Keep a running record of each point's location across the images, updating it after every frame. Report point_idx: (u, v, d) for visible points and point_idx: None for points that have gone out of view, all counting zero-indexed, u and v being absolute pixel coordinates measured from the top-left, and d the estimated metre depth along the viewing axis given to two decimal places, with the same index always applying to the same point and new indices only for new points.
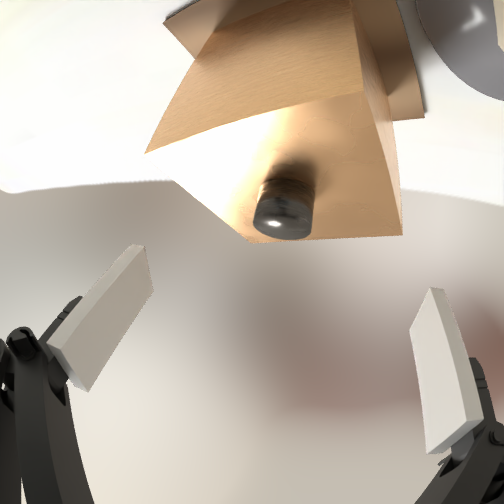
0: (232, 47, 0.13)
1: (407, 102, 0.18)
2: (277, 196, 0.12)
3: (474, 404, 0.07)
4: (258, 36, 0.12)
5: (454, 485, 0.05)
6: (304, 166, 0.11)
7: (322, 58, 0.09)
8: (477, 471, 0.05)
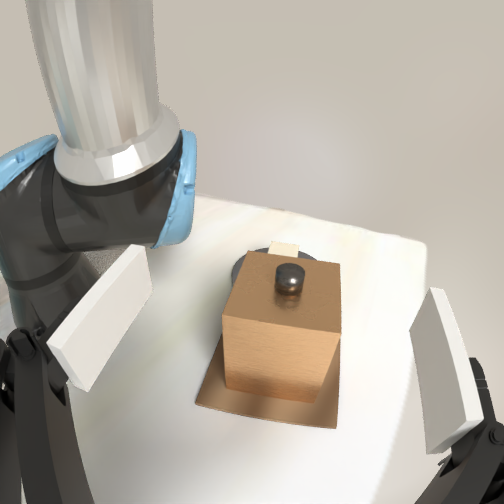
0: None
1: None
2: None
3: (474, 404, 0.07)
4: None
5: (454, 485, 0.05)
6: (272, 273, 0.27)
7: None
8: (477, 471, 0.05)
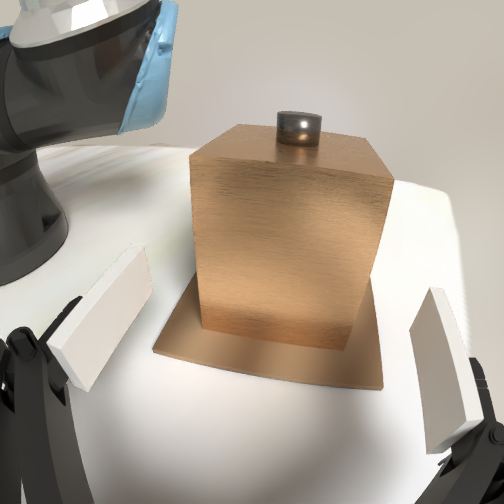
0: None
1: None
2: None
3: (474, 404, 0.07)
4: None
5: (454, 485, 0.05)
6: (272, 134, 0.17)
7: None
8: (477, 471, 0.05)
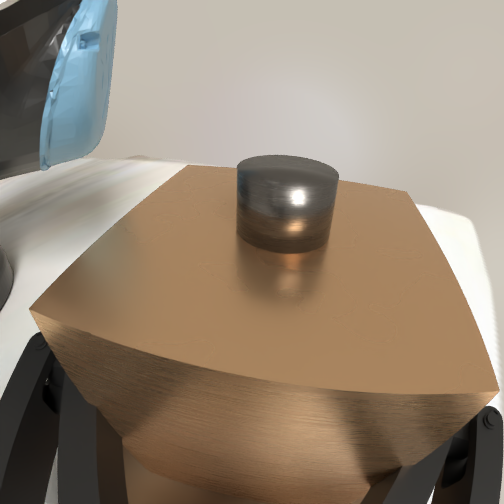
0: None
1: None
2: None
3: None
4: None
5: None
6: (235, 198, 0.09)
7: None
8: None
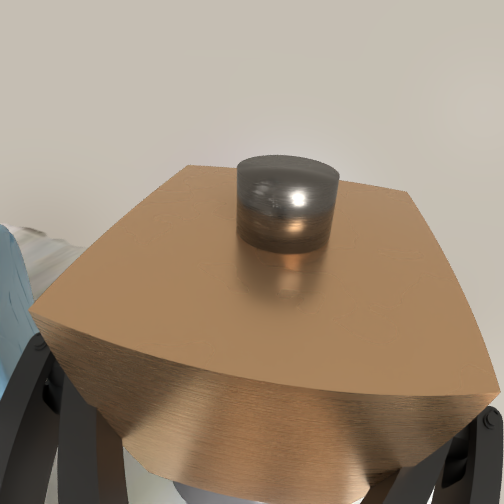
0: None
1: None
2: None
3: None
4: None
5: None
6: (236, 198, 0.09)
7: None
8: None
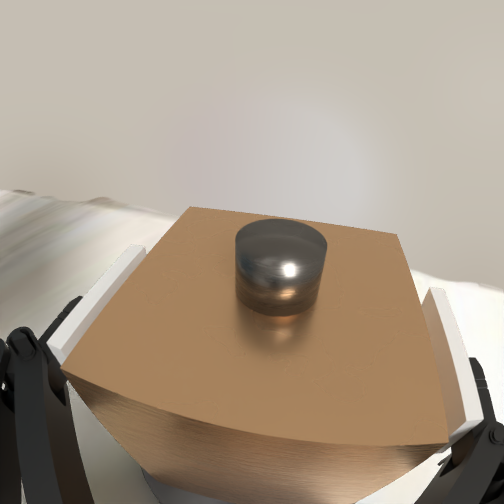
0: None
1: None
2: None
3: (474, 404, 0.07)
4: None
5: (454, 485, 0.05)
6: (235, 252, 0.10)
7: None
8: (477, 471, 0.05)
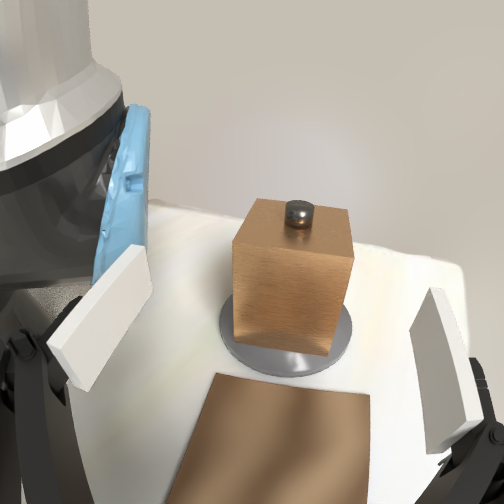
0: None
1: (351, 403, 0.23)
2: None
3: (474, 404, 0.07)
4: None
5: (454, 485, 0.05)
6: (281, 213, 0.27)
7: None
8: (477, 471, 0.05)
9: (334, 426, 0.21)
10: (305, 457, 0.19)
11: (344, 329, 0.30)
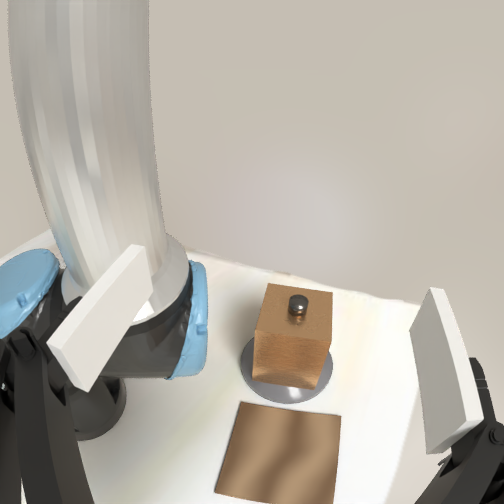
0: None
1: (328, 421, 0.36)
2: None
3: (474, 404, 0.07)
4: None
5: (454, 485, 0.05)
6: (286, 300, 0.39)
7: None
8: (477, 471, 0.05)
9: (317, 436, 0.34)
10: (298, 455, 0.31)
11: (327, 369, 0.42)
